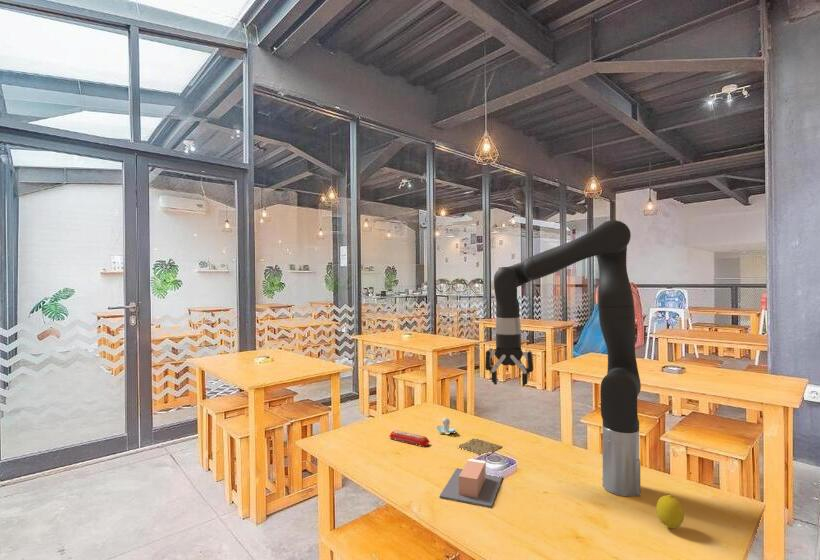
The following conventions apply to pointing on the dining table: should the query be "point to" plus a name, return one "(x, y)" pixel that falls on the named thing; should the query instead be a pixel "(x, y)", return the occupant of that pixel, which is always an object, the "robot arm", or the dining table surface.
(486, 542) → the dining table surface
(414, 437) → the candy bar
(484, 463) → the block
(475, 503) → the mat
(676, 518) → the lemon
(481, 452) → the mottled brown square tile
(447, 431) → the pacifier
